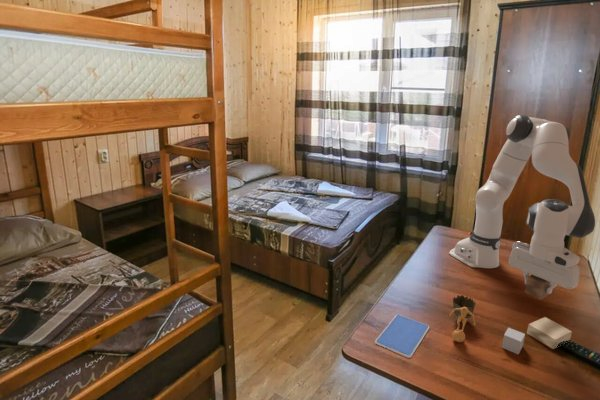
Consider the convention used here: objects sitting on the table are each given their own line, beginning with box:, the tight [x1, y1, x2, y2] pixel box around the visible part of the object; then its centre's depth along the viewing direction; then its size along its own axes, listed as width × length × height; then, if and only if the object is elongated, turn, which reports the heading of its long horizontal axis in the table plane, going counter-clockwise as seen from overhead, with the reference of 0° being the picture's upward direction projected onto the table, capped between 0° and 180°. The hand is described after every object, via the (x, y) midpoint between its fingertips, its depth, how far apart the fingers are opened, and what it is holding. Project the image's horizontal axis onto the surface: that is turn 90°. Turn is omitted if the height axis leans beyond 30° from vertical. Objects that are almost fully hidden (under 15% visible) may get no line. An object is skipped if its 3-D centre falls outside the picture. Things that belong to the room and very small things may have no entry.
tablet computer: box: [374, 314, 430, 359], centre depth 131 cm, size 19×13×1 cm, turn 144°
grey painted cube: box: [501, 327, 526, 355], centre depth 124 cm, size 5×5×5 cm
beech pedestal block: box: [526, 316, 573, 350], centre depth 129 cm, size 9×9×4 cm
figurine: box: [448, 307, 476, 343], centre depth 127 cm, size 8×6×12 cm
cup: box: [452, 295, 477, 323], centre depth 138 cm, size 8×7×8 cm
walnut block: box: [524, 274, 551, 301], centre depth 126 cm, size 5×5×6 cm
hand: (537, 288), depth 126 cm, fingers closed on walnut block, 5 cm apart
